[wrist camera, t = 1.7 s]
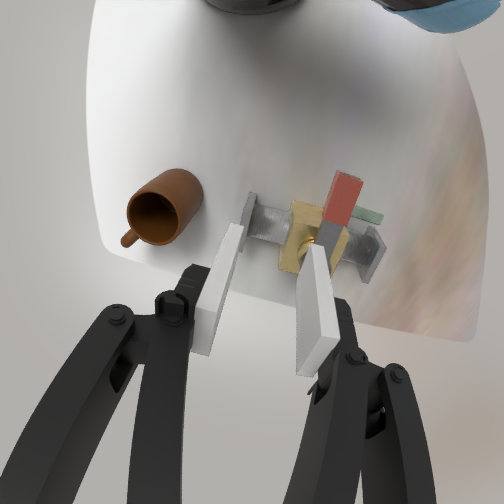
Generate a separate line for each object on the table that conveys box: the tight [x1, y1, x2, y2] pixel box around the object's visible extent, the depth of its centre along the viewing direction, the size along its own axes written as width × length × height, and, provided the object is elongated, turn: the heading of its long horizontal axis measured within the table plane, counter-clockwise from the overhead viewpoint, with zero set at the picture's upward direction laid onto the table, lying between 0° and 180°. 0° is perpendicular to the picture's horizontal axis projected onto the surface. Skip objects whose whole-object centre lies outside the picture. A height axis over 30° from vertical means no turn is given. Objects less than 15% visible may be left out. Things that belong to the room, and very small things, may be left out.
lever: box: [299, 170, 363, 275], centre depth 28 cm, size 13×4×2 cm, turn 168°
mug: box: [121, 169, 203, 248], centre depth 35 cm, size 12×8×9 cm, turn 127°
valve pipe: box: [238, 192, 387, 283], centre depth 34 cm, size 9×20×9 cm, turn 78°
